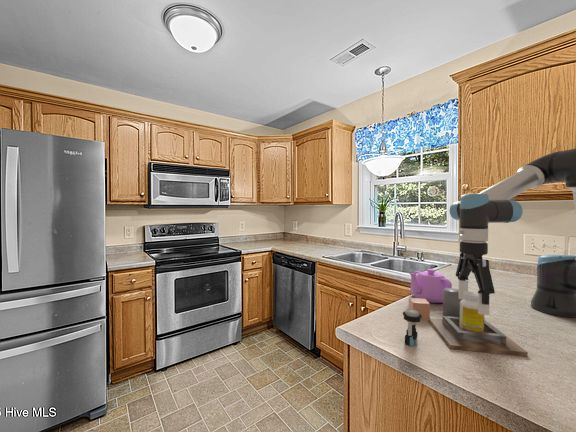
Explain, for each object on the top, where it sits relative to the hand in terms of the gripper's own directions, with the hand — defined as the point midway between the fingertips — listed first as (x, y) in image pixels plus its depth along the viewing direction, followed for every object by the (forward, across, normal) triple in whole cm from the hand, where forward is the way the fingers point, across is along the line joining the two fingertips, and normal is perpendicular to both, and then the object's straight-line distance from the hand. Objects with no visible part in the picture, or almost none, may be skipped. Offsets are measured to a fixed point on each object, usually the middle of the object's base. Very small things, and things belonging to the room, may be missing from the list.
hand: (472, 306), depth 87 cm
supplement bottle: (+9, 0, 0) cm, 9 cm away
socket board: (+10, 0, 0) cm, 10 cm away
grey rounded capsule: (+10, -17, +1) cm, 20 cm away
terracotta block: (+10, -15, -12) cm, 22 cm away
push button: (+10, +8, -20) cm, 24 cm away
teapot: (+10, -36, -3) cm, 38 cm away
